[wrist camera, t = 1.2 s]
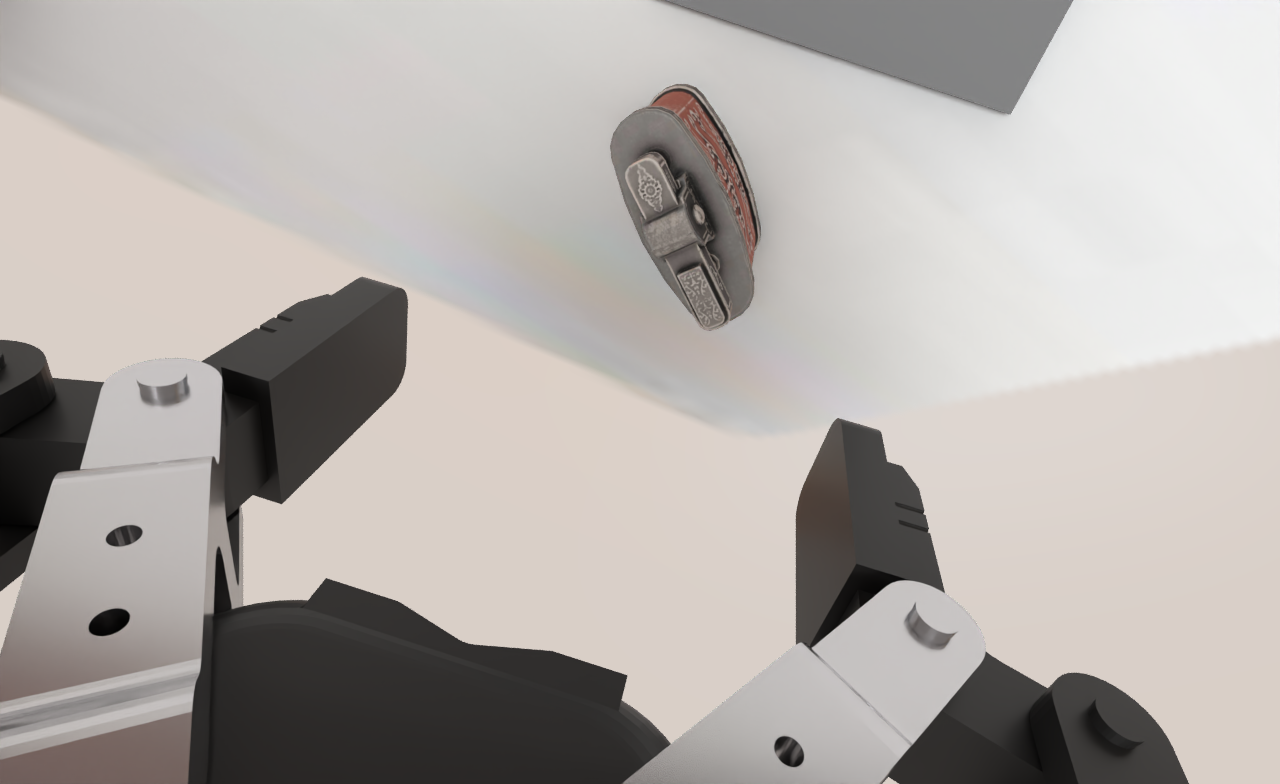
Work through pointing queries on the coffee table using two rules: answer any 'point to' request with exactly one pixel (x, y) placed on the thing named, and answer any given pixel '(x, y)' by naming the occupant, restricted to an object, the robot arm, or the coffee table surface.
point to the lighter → (690, 202)
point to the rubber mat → (915, 38)
